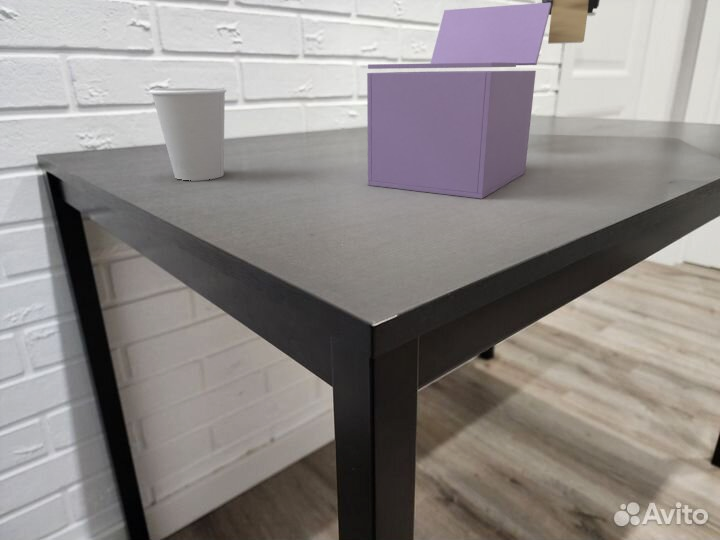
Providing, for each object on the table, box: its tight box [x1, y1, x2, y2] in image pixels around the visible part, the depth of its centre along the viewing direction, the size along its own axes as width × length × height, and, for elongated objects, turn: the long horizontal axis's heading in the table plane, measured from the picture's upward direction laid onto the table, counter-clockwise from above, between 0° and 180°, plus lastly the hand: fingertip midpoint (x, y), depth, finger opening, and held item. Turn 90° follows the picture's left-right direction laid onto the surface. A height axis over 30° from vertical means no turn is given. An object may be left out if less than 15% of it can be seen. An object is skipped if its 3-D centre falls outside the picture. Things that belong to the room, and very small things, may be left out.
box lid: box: [430, 2, 551, 66], centre depth 61 cm, size 7×13×1 cm
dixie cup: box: [149, 86, 227, 182], centre depth 60 cm, size 8×8×10 cm
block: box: [547, 0, 589, 45], centre depth 69 cm, size 4×4×8 cm
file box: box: [366, 62, 537, 200], centre depth 57 cm, size 15×13×12 cm
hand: (569, 8), depth 68 cm, fingers closed on block, 4 cm apart
